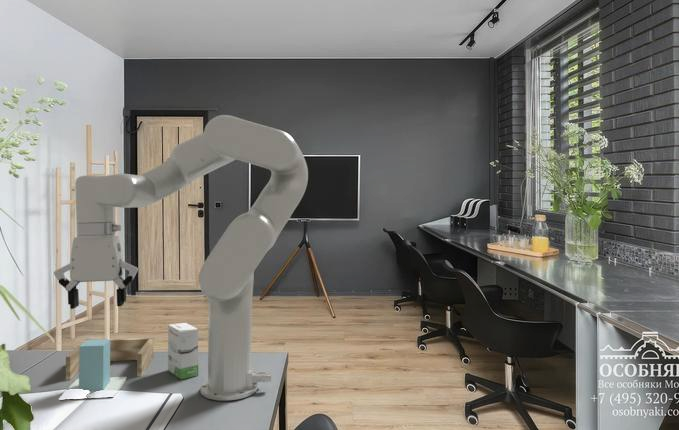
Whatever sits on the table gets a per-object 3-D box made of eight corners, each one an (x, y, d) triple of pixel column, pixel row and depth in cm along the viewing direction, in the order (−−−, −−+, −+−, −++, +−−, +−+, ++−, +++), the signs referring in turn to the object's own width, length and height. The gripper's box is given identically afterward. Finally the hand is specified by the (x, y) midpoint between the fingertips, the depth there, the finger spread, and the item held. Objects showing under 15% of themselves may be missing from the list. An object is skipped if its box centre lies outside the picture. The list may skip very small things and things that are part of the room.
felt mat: (126, 379, 113) (126, 376, 113) (113, 397, 103) (113, 394, 103) (77, 381, 111) (77, 379, 111) (58, 400, 101) (58, 397, 101)
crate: (153, 357, 129) (153, 337, 129) (141, 376, 115) (141, 353, 115) (86, 360, 126) (86, 340, 126) (65, 379, 112) (65, 356, 112)
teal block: (109, 381, 110) (110, 339, 110) (103, 390, 105) (103, 345, 105) (86, 383, 109) (86, 339, 109) (78, 391, 104) (79, 346, 104)
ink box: (199, 375, 116) (199, 328, 116) (179, 380, 113) (179, 331, 113) (185, 366, 123) (186, 321, 123) (166, 370, 120) (167, 323, 120)
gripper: (140, 228, 112) (142, 301, 112) (60, 230, 108) (62, 305, 109) (132, 230, 104) (134, 307, 104) (46, 232, 101) (48, 312, 101)
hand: (97, 306), depth 107 cm, fingers open, 9 cm apart
